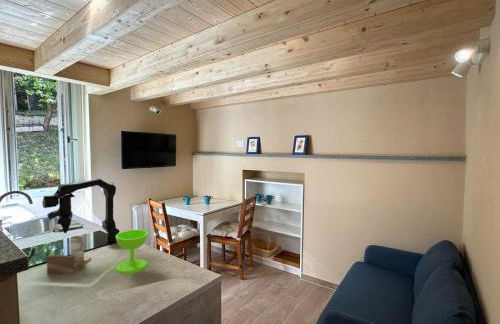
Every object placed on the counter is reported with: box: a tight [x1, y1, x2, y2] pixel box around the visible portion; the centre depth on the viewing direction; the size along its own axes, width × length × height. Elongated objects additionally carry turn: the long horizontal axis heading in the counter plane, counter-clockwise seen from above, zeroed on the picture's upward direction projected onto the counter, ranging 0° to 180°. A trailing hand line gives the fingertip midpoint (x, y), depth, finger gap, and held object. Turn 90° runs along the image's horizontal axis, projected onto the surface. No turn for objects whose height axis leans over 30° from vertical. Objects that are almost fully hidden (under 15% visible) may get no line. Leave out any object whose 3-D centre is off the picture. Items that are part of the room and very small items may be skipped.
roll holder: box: [46, 254, 85, 276], centre depth 137 cm, size 19×14×10 cm
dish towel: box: [51, 221, 84, 233], centre depth 202 cm, size 19×18×3 cm
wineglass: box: [115, 229, 149, 275], centre depth 141 cm, size 16×16×18 cm
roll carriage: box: [69, 234, 92, 266], centre depth 141 cm, size 9×9×14 cm
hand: (65, 230), depth 154 cm, fingers open, 9 cm apart
